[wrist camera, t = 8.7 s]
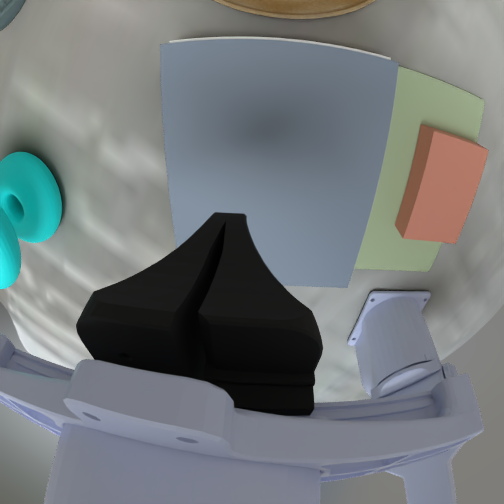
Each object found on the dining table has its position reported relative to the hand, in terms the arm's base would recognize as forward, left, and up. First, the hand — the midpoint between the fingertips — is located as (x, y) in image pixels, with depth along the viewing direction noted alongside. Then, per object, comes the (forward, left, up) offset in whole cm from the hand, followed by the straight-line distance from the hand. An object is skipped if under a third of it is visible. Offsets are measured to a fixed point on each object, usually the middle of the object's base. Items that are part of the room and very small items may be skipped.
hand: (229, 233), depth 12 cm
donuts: (-2, +22, -10) cm, 24 cm away
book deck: (0, -2, -10) cm, 10 cm away
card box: (0, -16, -7) cm, 17 cm away
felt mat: (0, -14, -10) cm, 17 cm away
